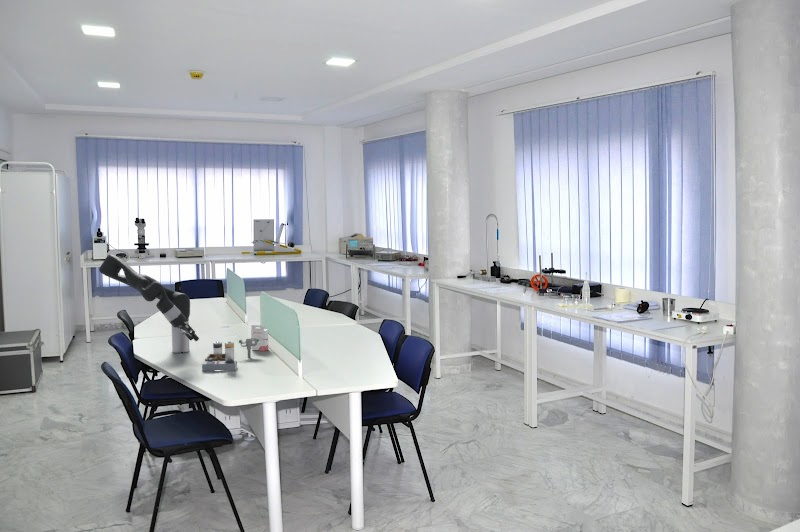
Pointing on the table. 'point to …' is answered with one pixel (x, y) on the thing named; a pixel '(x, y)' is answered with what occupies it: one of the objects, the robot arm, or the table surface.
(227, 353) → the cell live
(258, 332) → the ink cartridge box
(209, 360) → the plunger
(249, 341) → the mechanical component
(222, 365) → the tester
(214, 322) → the table surface
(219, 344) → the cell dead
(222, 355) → the bin
